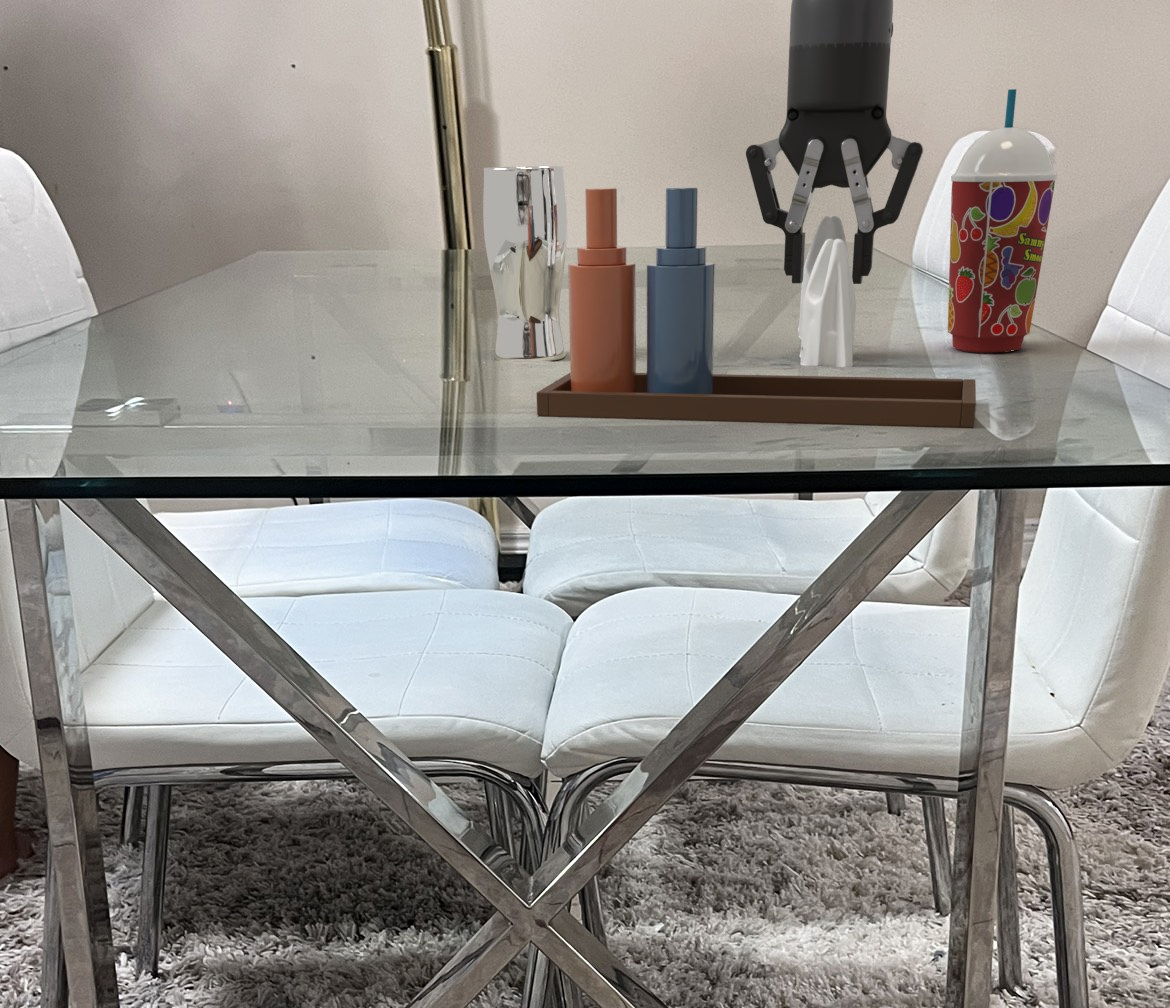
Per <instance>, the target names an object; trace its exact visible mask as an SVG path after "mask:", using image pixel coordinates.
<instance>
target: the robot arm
mask: <svg viewBox="0 0 1170 1008" xmlns="http://www.w3.org/2000/svg"><path fill="white" fill-rule="evenodd" d="M893 14H894V0H791V5H790V16H789V17H790V20H789V46H788V69H787V71H788V72H787V94H786V101H787V102H786V116H785V122H784V125H783V127H782V129H781V130H780V131H779V135H778V137H776V138H774V139H771V140H768V141H765V142H763V143H761V144H751V145H749V146H747V148H746V150H745V157H746V161H747V165H748V169H749V172H750V177H751V180H752V183H753V188H754V191H755V194H756V195H755V196H756V198H757V202H758V206H759V209H760V213H761V216H762V217H761V218H762V220H763V222H764V223H765V224H767V225H772V226H773V227H776V228H779V229H780V230H781V231H783V234H784V256H783V257H784V259H783V271H784V273H785V276H790V277H791V284H802V282H803V272H804V265H805V251H806V250H805V249H806V248H805V246H806V232H803V229H804V224H805V221H806V219H807V218H806V217H807V215H808V211H809V208H810V205H811V203H812V200H813V197H814V194H815V190H816V189H823V188H825V187H830V186H834V187H838V188H841V189H849V191H850V196H851V200H852V204H853V208H854V213H855V217H856V223H857V230H856V233H854V234H853V235H854V240H853V253H852V256H853V257H852V269H851V274H852V280H853V285H862V283H863V277H868V276H869V275H870V273H871V271H872V268H873V255H874V238H875V234H876V231H877V230H878V229H880V228H882V227H885V226H888V225H892V224H894V223H896V221H897V220H898V219H899V217H900V215H901V213H902V210H903V207H904V204H905V202H906V199H907V197H908V193H909V192H910V188H911V185H912V183H913V180H914V177H915V176H916V172H917V169H918V167H919V164H920V162H921V159H922V156H923V154H924V146H923V144H922V143H921V142H919V141H909V140H906V139H903V138H901V137H898V136H896V135H892V130H891V127H890V125H889V122H888V120H887V119H888V117H887V108H888V95H889V94H888V91H889V79H890V78H889V76H890V63H891V62H890V61H891V46H892V45H891V44H892V38H893V33H894V23H893V18H894V15H893ZM887 149H888V150H889V151H890V152H891V165H892V167H893V168H894V169H895V170H897V173H896V176H895V177H894V178H895V179H894V181H893V184H892V186H891V189H890V193H889V195H888V197H887V200H886V203H885V206H884V208H881V209H878V210H876V211H875V210H874V206H873V201H872V195H871V189H870V183H869V180H868V175H869V174H870V173H871V171H872V170H873V168H874V167H875V166H876V165H877V163H878V161H879V160H880V159H881V157H882V156H883V155H884V153H885V152H886V151H887ZM781 151H782V152H783V154H784V155H785V157H786V159H787V160H788V162H789V164H790V165H791V167H792V169H793V170H794V171H795V173H796V175H797V176H798V178H797V181H796V184H795V187H794V191H793V193H792V198H791V202H790V207H789V210H784V209H782V208H781V206H780V202H779V199H778V194H777V191H776V187H775V183H774V179H773V175H772V171H774V170H775V169H776V168H777V166H778V156H779V154H780V152H781Z"/></svg>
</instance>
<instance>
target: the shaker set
mask: <svg viewBox="0 0 1170 1008" xmlns="http://www.w3.org/2000/svg"><path fill="white" fill-rule="evenodd" d="M799 304H800V305H799V320H798V321H799V322H798V328H797V333H798V336H797V338H799V340H801V342H800V353H799V355H798V356H799V358H800V362H799V365H800V366H804V367H843V368H849V367H853V357H854V341H855V326H856V313H857V312H856V311H857V310H856V309H857V308H856V307H857V301H856V291H855V284H853V280H852V269H851V263H850V257H849V252H848V246H847V240H846V235H845V230H844V226H843V222H842V220H841V218H840V217H839V216H836V215H835V216H828V215H827V216H824V217H822V219H820V222H819V223H818V226H817V228H816V230H815V233H814V235H813V237H812V240H811V243H810V245H809V249H808V252H807V254H806V258H805V260H804V272H803V282H802V283H801V287H800V303H799Z"/></svg>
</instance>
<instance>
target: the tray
mask: <svg viewBox="0 0 1170 1008" xmlns="http://www.w3.org/2000/svg"><path fill="white" fill-rule="evenodd" d="M976 384H977V383H976V379H975V378H973V379H971V378H964V379H963V378H931V377H929V378H928V377H927V378H926V377H925V378H924V377H879V376H877V377H873V376H872V377H871V376H828V375H827V376H826V375H825V376H824V375H778V374H777V375H772V374H727V373H726V374H724V373H723V374H722V373H721V374H719V373H713V394H673V393H647V372H636V393H629V392H586V391H571V375H570V372H569V373H567V374H565V375H563V376H562V377H560V378H559V379H557V380H555V381H554V382H552V383H550V384H548V385H547V386H545V387H544V388H542V389H540V390H538V391H537V392H536V415H537V417H539V418H540V417H541V418H570V419H571V418H573V419H574V418H577V419H611V420H613V419H614V420H615V419H616V420H644V421H645V420H650V421H683V422H685V421H686V422H717V423H720V422H721V423H725V422H726V423H755V424H760V423H761V424H763V423H764V424H791V425H792V424H793V425H794V424H795V425H798V424H799V425H834V426H863V427H865V426H867V427H868V426H869V427H898V428H899V427H902V428H906V427H907V428H939V429H941V428H943V429H946V428H947V429H974V426H975V416H976V407H977V389H976V388H977V387H976V386H977V385H976Z"/></svg>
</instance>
